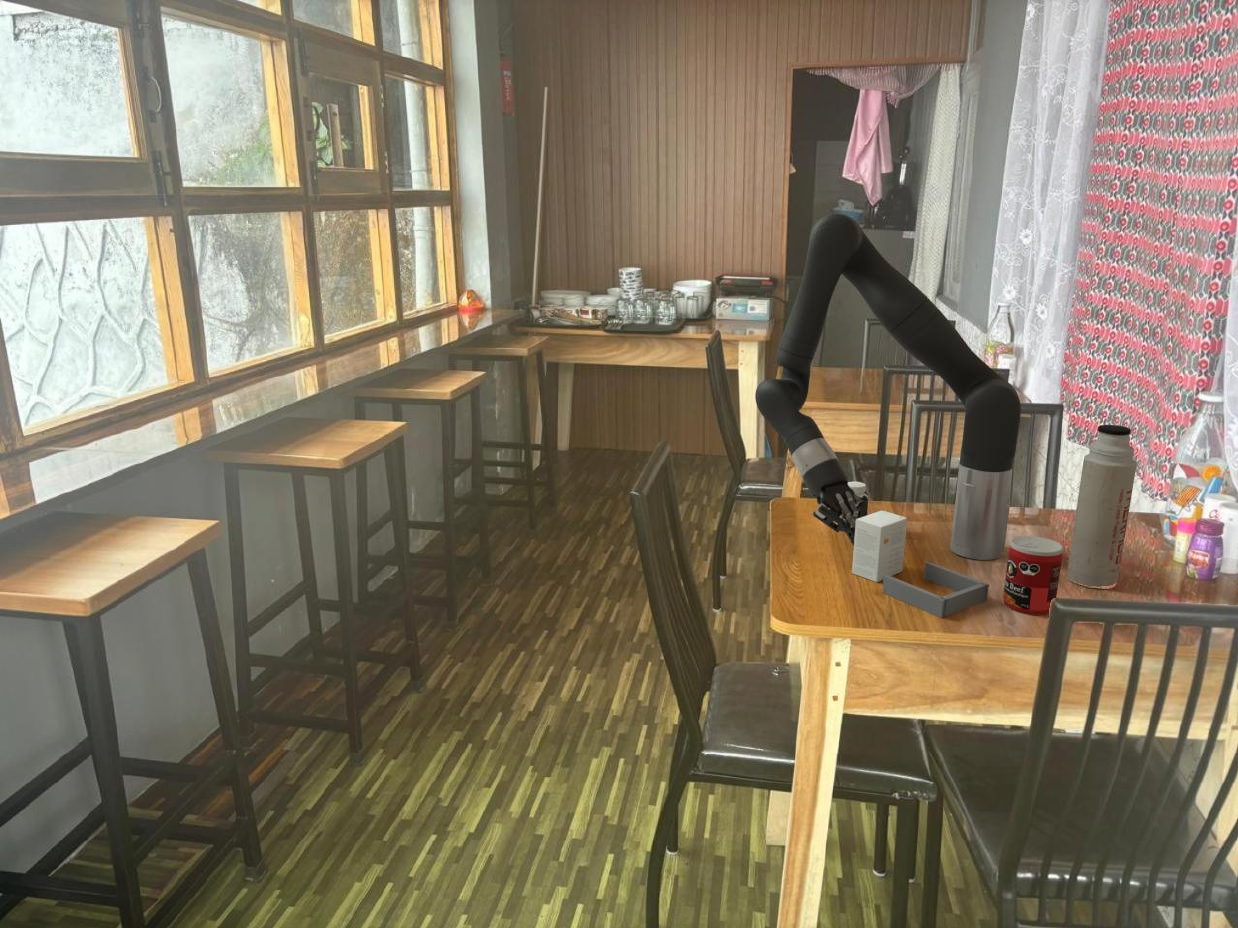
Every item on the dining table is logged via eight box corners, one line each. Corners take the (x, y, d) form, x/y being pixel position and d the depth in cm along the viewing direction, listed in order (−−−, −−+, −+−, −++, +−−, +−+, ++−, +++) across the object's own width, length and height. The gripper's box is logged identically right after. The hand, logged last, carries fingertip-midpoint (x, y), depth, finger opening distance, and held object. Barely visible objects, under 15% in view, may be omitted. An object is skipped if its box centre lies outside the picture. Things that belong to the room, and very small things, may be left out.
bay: (927, 577, 161) (929, 561, 160) (986, 600, 151) (988, 584, 151) (882, 592, 155) (883, 576, 154) (941, 617, 145) (942, 600, 144)
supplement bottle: (863, 525, 188) (867, 480, 185) (867, 534, 182) (871, 488, 180) (837, 524, 188) (840, 479, 185) (840, 533, 183) (844, 487, 180)
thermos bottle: (1126, 584, 158) (1152, 429, 150) (1097, 593, 154) (1122, 434, 147) (1085, 568, 165) (1108, 419, 157) (1056, 576, 161) (1078, 424, 154)
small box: (877, 563, 167) (881, 509, 165) (903, 572, 163) (908, 517, 160) (850, 573, 163) (854, 518, 160) (876, 583, 158) (881, 526, 156)
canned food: (993, 597, 153) (1001, 536, 150) (1039, 595, 153) (1047, 534, 150) (1016, 616, 146) (1025, 553, 142) (1064, 614, 146) (1073, 551, 143)
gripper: (805, 462, 165) (850, 545, 158) (855, 452, 172) (901, 531, 165) (783, 483, 170) (826, 564, 164) (832, 472, 177) (876, 549, 171)
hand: (863, 547), depth 165 cm, fingers closed
